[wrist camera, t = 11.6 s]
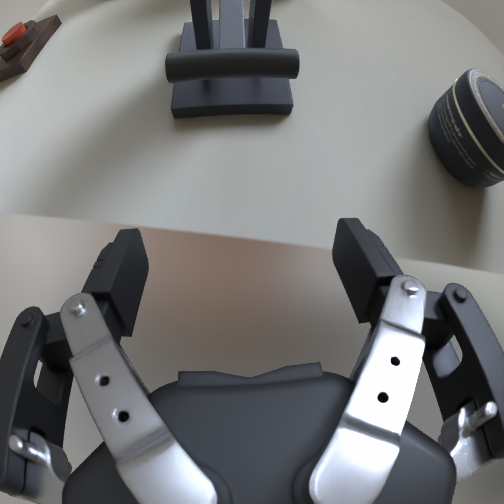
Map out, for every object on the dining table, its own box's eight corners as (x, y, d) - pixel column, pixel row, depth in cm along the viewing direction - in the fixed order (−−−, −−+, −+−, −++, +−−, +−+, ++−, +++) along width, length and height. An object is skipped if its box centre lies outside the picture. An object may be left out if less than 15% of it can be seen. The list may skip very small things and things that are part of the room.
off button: (17, 43, 16) (11, 36, 15) (2, 50, 16) (-3, 43, 14) (31, 26, 17) (26, 18, 15) (16, 33, 17) (11, 26, 15)
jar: (474, 119, 21) (512, 89, 14) (496, 199, 20) (546, 179, 12) (412, 95, 21) (450, 50, 13) (435, 185, 20) (494, 151, 12)
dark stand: (290, 114, 20) (338, -40, 6) (173, 119, 19) (125, -35, 5) (275, 28, 21) (293, -81, 7) (185, 31, 21) (169, -79, 7)
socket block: (26, 71, 20) (12, 54, 16) (-5, 83, 19) (-18, 70, 15) (61, 23, 21) (52, 6, 17) (27, 36, 21) (18, 22, 17)
